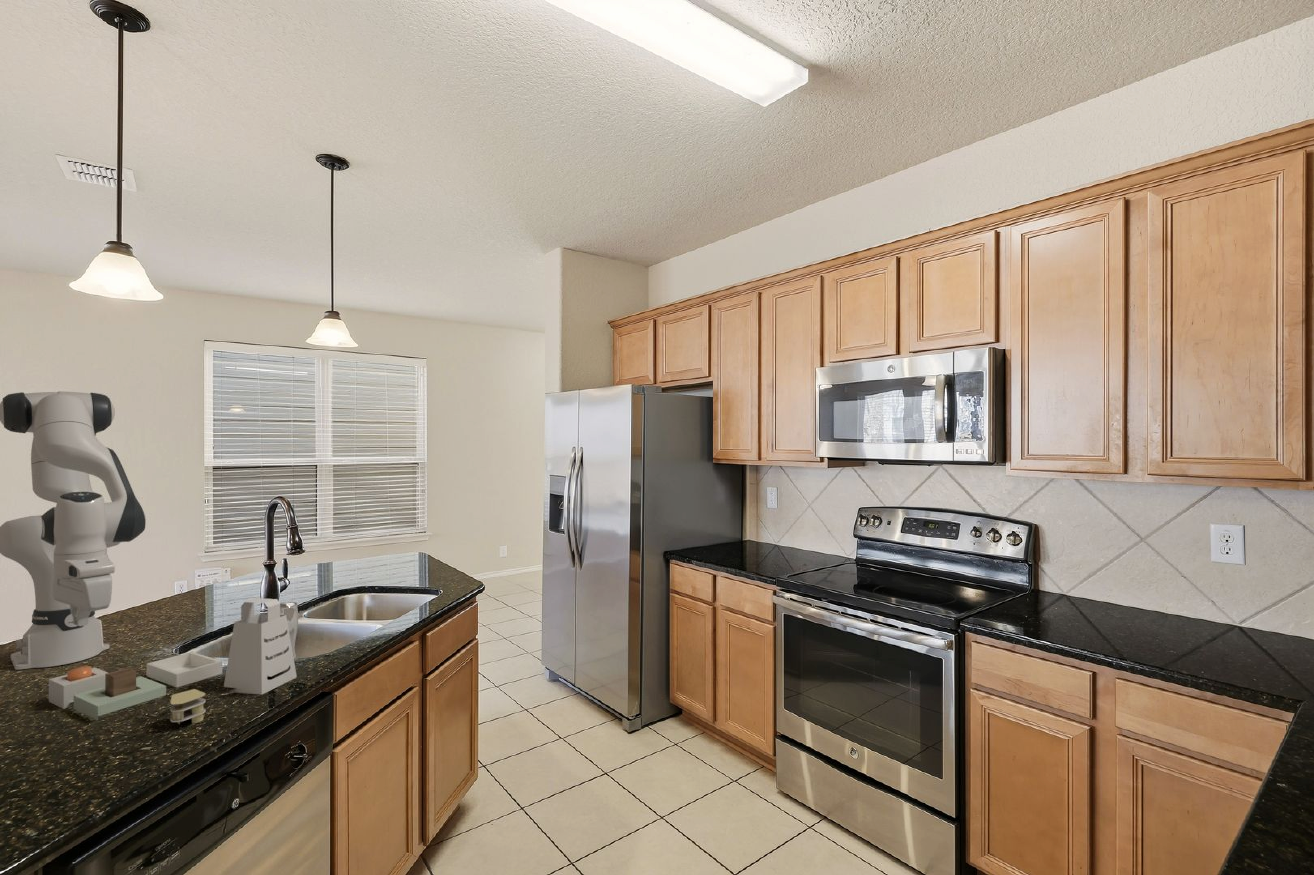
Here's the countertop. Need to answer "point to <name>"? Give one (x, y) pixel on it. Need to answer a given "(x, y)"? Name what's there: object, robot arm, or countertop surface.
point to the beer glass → (290, 622)
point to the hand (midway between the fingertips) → (80, 624)
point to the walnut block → (120, 682)
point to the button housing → (73, 687)
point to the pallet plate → (117, 698)
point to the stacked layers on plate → (187, 706)
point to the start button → (79, 673)
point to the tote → (184, 669)
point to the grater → (259, 650)
